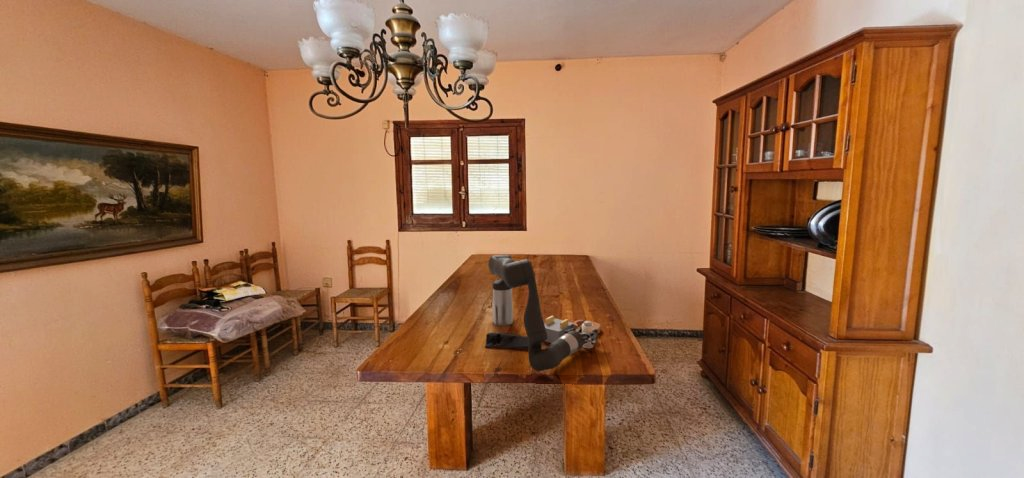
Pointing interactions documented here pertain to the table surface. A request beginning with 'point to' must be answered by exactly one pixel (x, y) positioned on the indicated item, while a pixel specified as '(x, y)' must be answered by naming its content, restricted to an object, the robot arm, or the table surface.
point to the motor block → (556, 328)
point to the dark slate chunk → (506, 341)
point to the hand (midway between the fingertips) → (590, 329)
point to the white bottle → (587, 327)
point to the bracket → (579, 322)
